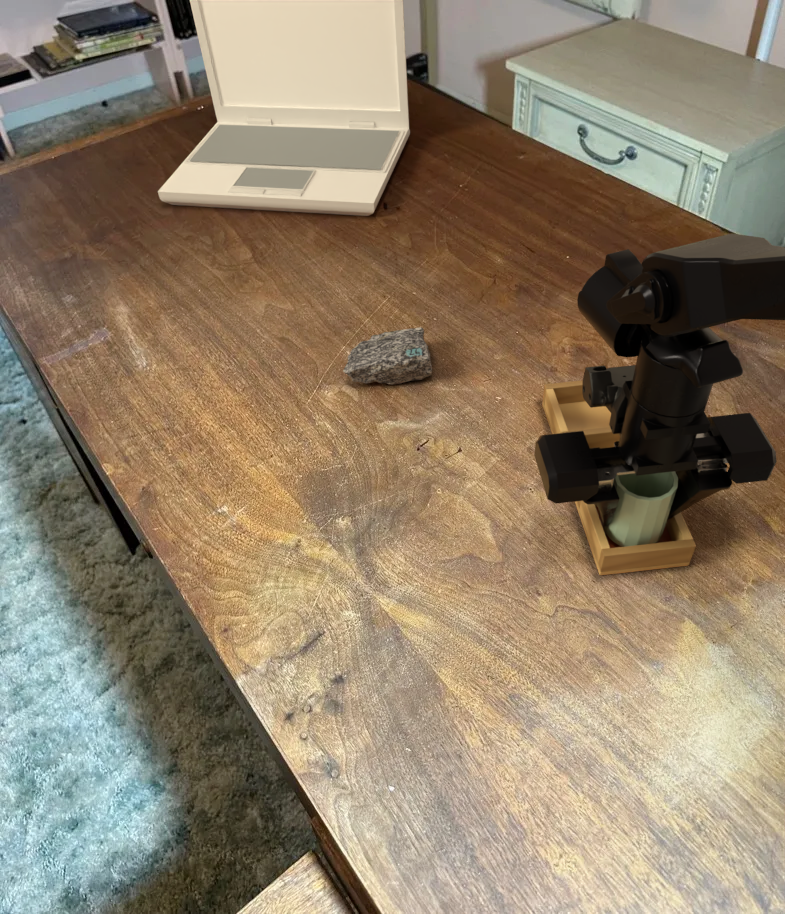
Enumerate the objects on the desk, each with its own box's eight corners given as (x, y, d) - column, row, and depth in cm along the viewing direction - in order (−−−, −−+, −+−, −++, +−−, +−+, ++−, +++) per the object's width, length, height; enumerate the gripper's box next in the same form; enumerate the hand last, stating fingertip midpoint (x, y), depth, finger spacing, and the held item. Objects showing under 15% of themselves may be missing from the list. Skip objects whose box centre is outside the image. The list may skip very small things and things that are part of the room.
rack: (688, 565, 69) (696, 545, 67) (599, 575, 69) (604, 556, 67) (615, 396, 85) (619, 375, 83) (542, 404, 85) (544, 384, 83)
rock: (348, 349, 94) (344, 321, 91) (431, 345, 93) (430, 317, 90) (345, 390, 88) (341, 362, 85) (433, 386, 88) (432, 358, 85)
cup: (670, 546, 69) (687, 496, 64) (612, 553, 69) (624, 503, 64) (651, 502, 73) (665, 451, 68) (596, 508, 73) (606, 458, 68)
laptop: (162, 207, 121) (101, 8, 101) (223, 133, 139) (181, -49, 118) (375, 219, 114) (356, 9, 94) (410, 140, 132) (401, -51, 111)
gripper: (745, 317, 65) (702, 445, 76) (527, 340, 64) (516, 466, 76) (806, 406, 57) (748, 534, 68) (558, 432, 57) (541, 557, 68)
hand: (635, 518), depth 70 cm, fingers closed on cup, 5 cm apart
